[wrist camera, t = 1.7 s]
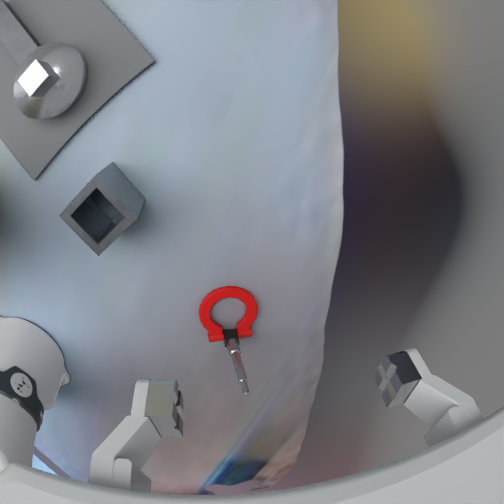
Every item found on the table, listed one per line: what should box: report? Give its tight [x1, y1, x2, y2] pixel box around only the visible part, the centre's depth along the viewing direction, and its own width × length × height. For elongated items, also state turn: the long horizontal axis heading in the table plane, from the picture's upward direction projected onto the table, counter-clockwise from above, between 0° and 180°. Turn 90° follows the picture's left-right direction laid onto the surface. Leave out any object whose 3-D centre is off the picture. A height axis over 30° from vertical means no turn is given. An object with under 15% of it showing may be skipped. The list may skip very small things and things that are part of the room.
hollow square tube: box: [59, 162, 145, 256], centre depth 29 cm, size 6×6×7 cm
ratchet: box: [0, 0, 88, 119], centre depth 18 cm, size 22×9×6 cm, turn 35°
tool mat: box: [0, 0, 155, 180], centre depth 21 cm, size 20×26×1 cm
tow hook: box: [199, 286, 257, 396], centre depth 38 cm, size 8×13×9 cm
